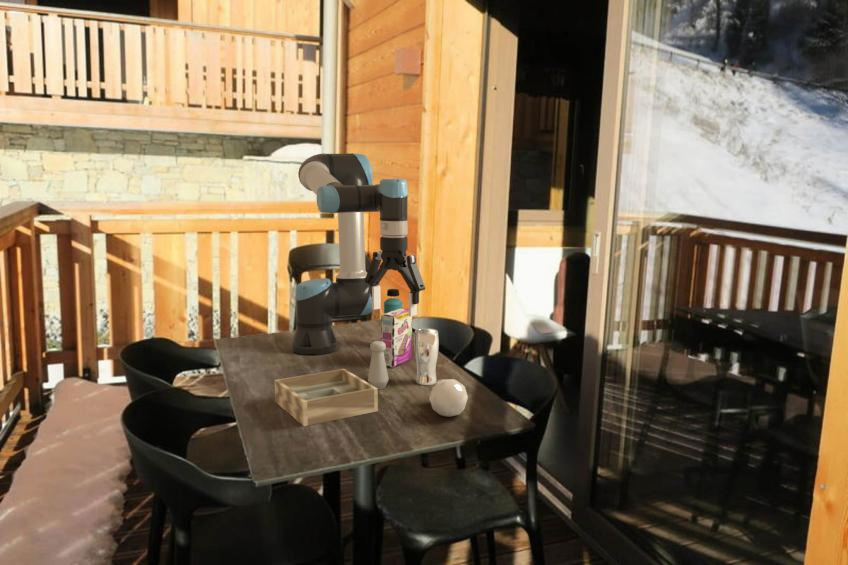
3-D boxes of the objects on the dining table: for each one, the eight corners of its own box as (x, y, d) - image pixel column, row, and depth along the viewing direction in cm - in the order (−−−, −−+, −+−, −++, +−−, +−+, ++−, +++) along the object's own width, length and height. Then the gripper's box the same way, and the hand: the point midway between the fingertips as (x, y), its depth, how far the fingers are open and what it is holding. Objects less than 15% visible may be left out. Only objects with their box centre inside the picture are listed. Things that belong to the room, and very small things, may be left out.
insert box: (275, 401, 187) (274, 380, 186) (344, 389, 197) (344, 368, 196) (303, 426, 170) (303, 402, 169) (377, 411, 181) (377, 388, 179)
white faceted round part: (445, 429, 173) (440, 414, 188) (477, 405, 173) (470, 392, 188) (422, 398, 172) (420, 386, 187) (455, 375, 172) (450, 364, 187)
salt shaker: (385, 391, 196) (385, 345, 194) (365, 389, 197) (364, 344, 195) (390, 384, 202) (390, 340, 199) (371, 383, 203) (370, 338, 201)
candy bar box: (394, 368, 217) (393, 316, 214) (380, 366, 219) (379, 314, 216) (412, 359, 226) (412, 309, 223) (399, 357, 229) (399, 307, 226)
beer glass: (426, 376, 209) (426, 327, 206) (443, 381, 204) (443, 331, 201) (409, 381, 204) (409, 331, 201) (426, 387, 199) (426, 335, 197)
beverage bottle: (385, 344, 245) (384, 287, 241) (404, 344, 244) (404, 287, 240) (381, 349, 238) (381, 290, 235) (401, 350, 238) (400, 291, 234)
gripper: (351, 233, 198) (352, 308, 202) (420, 240, 183) (420, 320, 186) (370, 231, 204) (371, 304, 208) (438, 238, 188) (437, 316, 192)
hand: (394, 312), depth 197 cm, fingers open, 13 cm apart
